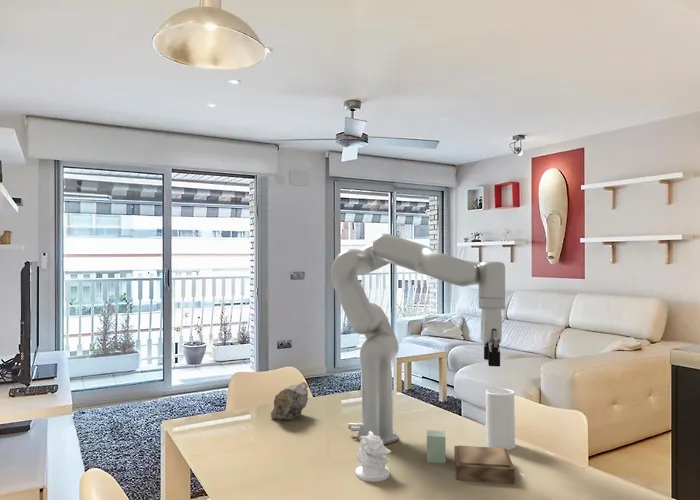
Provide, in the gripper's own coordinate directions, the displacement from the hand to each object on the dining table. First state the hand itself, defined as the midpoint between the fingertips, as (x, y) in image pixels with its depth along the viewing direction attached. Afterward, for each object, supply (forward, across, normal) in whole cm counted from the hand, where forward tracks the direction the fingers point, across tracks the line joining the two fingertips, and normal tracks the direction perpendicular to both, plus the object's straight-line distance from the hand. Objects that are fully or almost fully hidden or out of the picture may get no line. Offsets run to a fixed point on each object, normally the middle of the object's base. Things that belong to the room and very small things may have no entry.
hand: (491, 362), depth 145 cm
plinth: (+25, +14, -4) cm, 29 cm away
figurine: (+26, +21, -32) cm, 46 cm away
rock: (+26, -23, -66) cm, 75 cm away
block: (+26, +8, -16) cm, 31 cm away
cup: (+26, -6, +3) cm, 26 cm away
